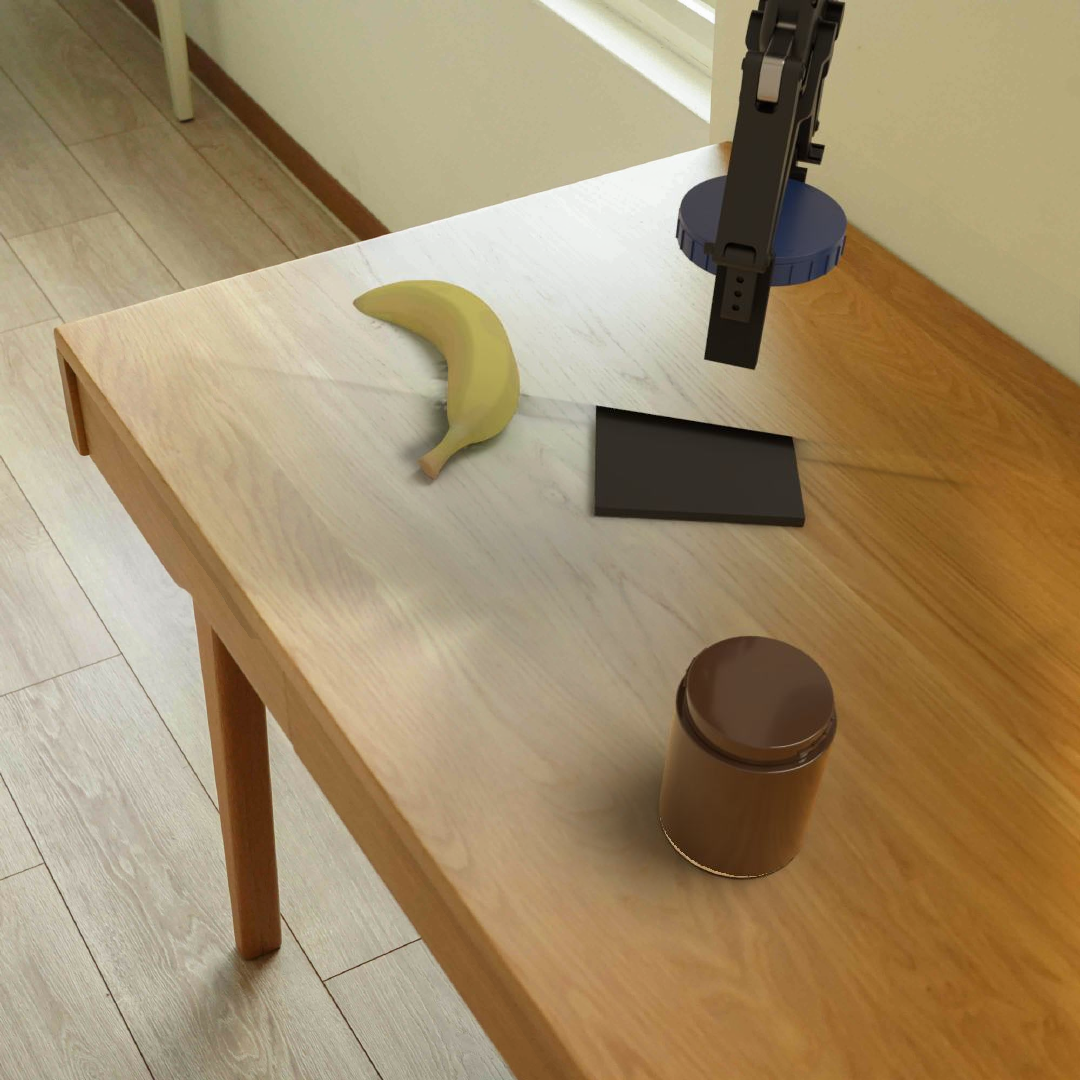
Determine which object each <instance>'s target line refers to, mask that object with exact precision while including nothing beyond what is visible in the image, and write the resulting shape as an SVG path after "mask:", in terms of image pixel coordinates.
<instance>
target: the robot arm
mask: <svg viewBox="0 0 1080 1080" xmlns="http://www.w3.org/2000/svg"><path fill="white" fill-rule="evenodd" d="M845 9H846V2H845V1H839V0H758V5H757V9H752V10H751V12H750V15H749V19H748V23H747V28H746V33H745V39H744V44H745V46H746V49H747V51H746V52H745V55H744V56H745V57H743V58H742V61H741V67H740V70H741V71H742V76H741V84H740V91H739V96H738V108H737V115H736V120H735V125H734V132H733V137H732V144H731V149H730V154H729V161H728V166H727V172H726V173H727V174H726V175H727V178H726V184H725V190H724V196H723V202H722V207H721V213H720V219H719V225H718V231H717V237H716V242H712V241H707V242H705V244H704V254H707V255H712V261H713V264H717V270H716V276H715V279H714V285H713V292H712V297H711V299H712V300H711V307H710V311H709V312H710V314H709V320H708V327H707V336H706V340H705V349H704V355H703V360H704V361H709V362H713V363H719V364H723V365H727V366H733V367H738V368H741V369H742V368H743V369H746V370H751V371H755V370H756V368H757V366H758V362H759V361H758V360H759V357H760V356H759V355H760V351H761V344H762V338H763V332H764V327H765V321H766V317H767V316H766V315H767V309H768V303H769V299H770V294H771V292H770V291H771V282H772V276H773V271H774V265H775V259H776V253H775V249H774V247H773V246H774V242H775V237H776V232H777V228H778V223H779V218H780V214H781V209H782V204H783V200H784V195H785V190H786V186H787V181H788V178H790V179H794V180H797V181H800V182H803V183H806V180H807V176H808V169H809V168H808V167H805V166H804V167H803V166H798V165H799V162H800V163H805V164H810V165H811V164H812V165H816V166H821V165H822V162H823V157H824V153H825V147H826V145H825V144H822V143H816V142H812V141H813V138H815V135H816V133H817V132H818V131H819V128H820V125H821V121H819V117H820V116H819V115H820V110H821V105H822V99H823V92H824V88H825V87H824V86H825V79H826V78H827V77H828V74H829V71H830V67H831V63H832V59H833V56H834V52H835V51H834V50H835V43H836V41H837V40H838V38H839V35H840V31H841V27H842V24H843V20H844V17H845Z"/></svg>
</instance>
